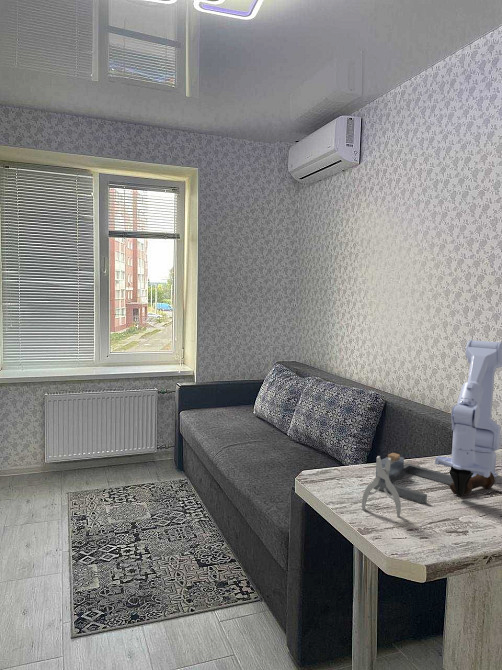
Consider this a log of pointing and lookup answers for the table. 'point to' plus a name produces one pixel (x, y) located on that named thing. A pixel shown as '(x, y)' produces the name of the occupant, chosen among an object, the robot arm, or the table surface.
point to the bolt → (476, 483)
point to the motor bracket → (401, 470)
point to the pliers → (384, 475)
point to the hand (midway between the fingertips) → (460, 495)
